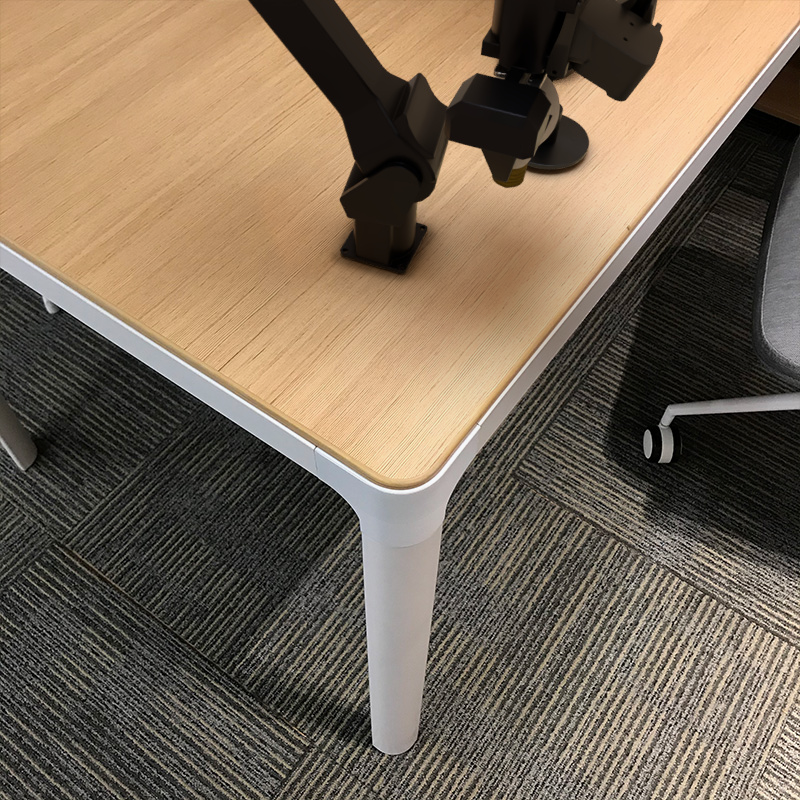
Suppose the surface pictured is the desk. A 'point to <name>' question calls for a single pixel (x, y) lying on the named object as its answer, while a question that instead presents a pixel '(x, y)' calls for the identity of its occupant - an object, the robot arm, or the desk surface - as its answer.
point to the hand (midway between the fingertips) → (510, 159)
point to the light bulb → (521, 165)
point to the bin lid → (561, 145)
